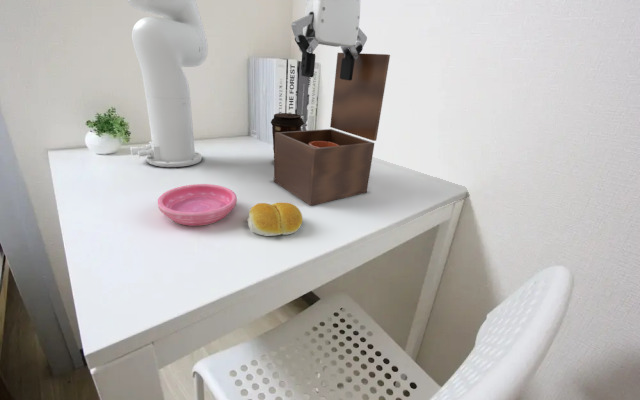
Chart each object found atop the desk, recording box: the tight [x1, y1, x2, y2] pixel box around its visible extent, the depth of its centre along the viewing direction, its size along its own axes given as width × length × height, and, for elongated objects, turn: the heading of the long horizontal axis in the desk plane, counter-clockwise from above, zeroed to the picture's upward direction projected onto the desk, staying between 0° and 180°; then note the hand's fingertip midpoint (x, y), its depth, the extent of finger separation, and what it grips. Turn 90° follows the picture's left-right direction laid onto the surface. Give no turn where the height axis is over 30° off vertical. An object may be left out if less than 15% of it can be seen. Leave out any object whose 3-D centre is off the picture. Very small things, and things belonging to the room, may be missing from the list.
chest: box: [273, 128, 375, 206], centre depth 67 cm, size 16×15×11 cm
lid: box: [329, 52, 391, 142], centre depth 67 cm, size 16×15×5 cm
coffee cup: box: [270, 112, 305, 159], centre depth 81 cm, size 9×8×13 cm
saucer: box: [157, 183, 238, 227], centre depth 53 cm, size 12×12×3 cm
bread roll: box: [246, 202, 304, 237], centre depth 51 cm, size 8×9×4 cm
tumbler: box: [308, 141, 339, 148], centre depth 67 cm, size 7×7×9 cm
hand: (327, 78), depth 61 cm, fingers open, 9 cm apart
